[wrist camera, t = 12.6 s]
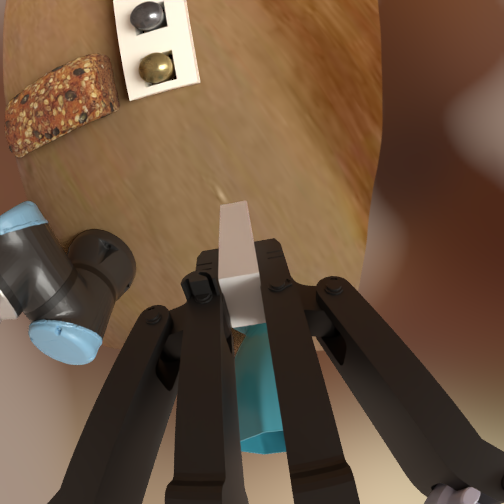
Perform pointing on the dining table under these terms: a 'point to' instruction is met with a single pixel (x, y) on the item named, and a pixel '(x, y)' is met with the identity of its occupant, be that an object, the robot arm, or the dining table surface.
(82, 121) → the bread
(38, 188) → the dining table surface
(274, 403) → the vase
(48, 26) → the dining table surface
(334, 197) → the dining table surface
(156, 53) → the brass plug
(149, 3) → the grey plug
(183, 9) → the slab
